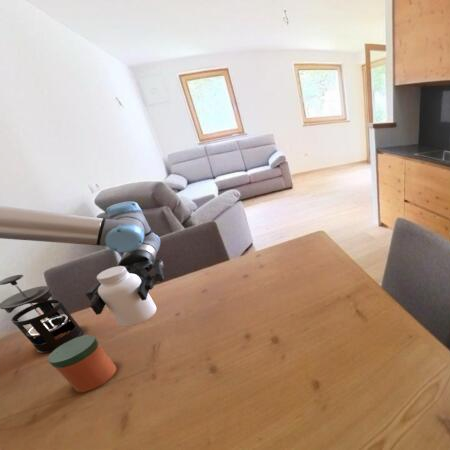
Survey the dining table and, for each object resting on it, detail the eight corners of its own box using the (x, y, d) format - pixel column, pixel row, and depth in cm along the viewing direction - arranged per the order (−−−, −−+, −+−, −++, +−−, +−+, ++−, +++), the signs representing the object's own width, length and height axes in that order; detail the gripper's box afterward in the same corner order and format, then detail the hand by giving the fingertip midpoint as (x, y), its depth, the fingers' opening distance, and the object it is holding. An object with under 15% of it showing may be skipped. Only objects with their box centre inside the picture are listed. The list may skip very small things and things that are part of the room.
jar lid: (41, 370, 63) (36, 364, 62) (73, 342, 70) (69, 337, 69) (79, 365, 64) (75, 359, 63) (107, 337, 71) (103, 332, 70)
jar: (66, 394, 67) (39, 365, 63) (93, 366, 74) (70, 338, 69) (100, 389, 68) (76, 360, 63) (124, 362, 75) (103, 334, 70)
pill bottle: (124, 332, 70) (91, 286, 64) (116, 319, 75) (86, 274, 68) (161, 313, 76) (135, 268, 69) (152, 302, 80) (127, 259, 74)
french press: (81, 342, 82) (31, 279, 72) (33, 361, 76) (-29, 296, 66) (86, 320, 90) (42, 261, 80) (43, 336, 85) (-10, 275, 74)
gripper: (183, 259, 92) (176, 298, 74) (99, 282, 82) (69, 332, 65) (174, 240, 88) (165, 275, 71) (85, 261, 79) (49, 308, 61)
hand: (119, 302), depth 68 cm, fingers closed on pill bottle, 8 cm apart
